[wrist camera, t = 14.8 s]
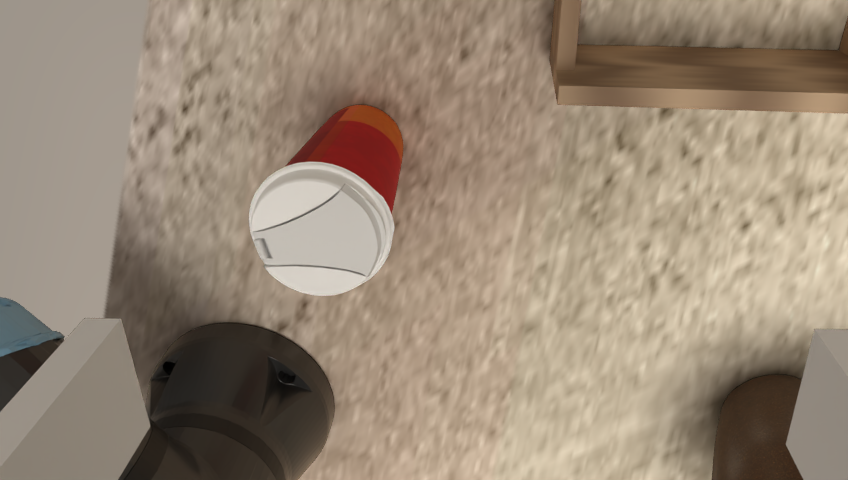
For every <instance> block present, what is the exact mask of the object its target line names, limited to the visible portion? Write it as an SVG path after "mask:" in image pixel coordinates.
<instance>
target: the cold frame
mask: <svg viewBox="0 0 848 480" xmlns="http://www.w3.org/2000/svg"><path fill="white" fill-rule="evenodd" d="M580 10H581V0H554V11H553V24H552V36H551V49H550V65H551V71H552V76H553V82H554V87H555V93H556V99H557V104H558V105H587V106H620V107H653V108H686V109H719V110H752V111H785V112H818V113H848V18H847V22H846V25H845V29H844V33H843V37H842V40H841V44H840V48H839V50H799V49H755V48H711V47H667V46H623V45H579V44H577V41H578V31H579V20H580Z"/></svg>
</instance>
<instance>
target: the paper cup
mask: <svg viewBox="0 0 848 480" xmlns="http://www.w3.org/2000/svg"><path fill="white" fill-rule="evenodd" d="M402 156H403V140H402V135H401V132H400V130H399V128H398V126H397V125H396V123H395V122H394V121H393V119H392V118H391V117H390V116H389V115H387V114H386V113H385V112H383V111H381V110H379V109H377V108H375V107H372V106H367V105H353V106H349V107H346V108H344V109H342V110H340V111H338V112H337V113H335V114H334V115H333V116H332V117H331V118H330V119H329V120H328V121H327V122H326V123H325V124H324V125H323V126H322V127H321V128H320V129H319V130H318V131H317V132H316V133H315V134H314V135H313V136H312V138H311V139H310V140H309V141H308V142H307V143H306V144H305V145H304V146H303V147H302V148H301V150H300V151H299V152H298V153H297V154H296V155H295V156H294V157H293V158H292V159H291V161H290V162H289V163H288V164H287V165H286V166H285V167H283V168H281V169H279V170H277V171H276V172H274V173H273V174H271V175H270V176H269V177H268V178H267V179H266V180H265V181H264V182H263V183H262V184H261V185H260V186H259V188H258V189H257V191H256V192H255V195H254V197H253V199H252V201H251V206H250V210H249V227H250V233H251V236H252V240H253V242H254V245H255V247H256V249H257V252H258V254H259V257H260V259H262V260H263V262H264V264H265V265H264V268H265V269H266V270H267V271H268V272H269V273H270V275H272V276H273V277H274V278H275V279H276V280H278V281H279V282H281V283H282V284H284V285H285V286H287V287H289V288H291V289H293V290H295V291H298V292H301V293H304V294H309V295H316V296H330V295H337V294H341V293H344V292H347V291H350V290H352V289H354V288H355V287H357V286H359V285H361V284H362V283H364V282H366V281H368V280H369V279H370V278H372V277H373V276H374V275H375V274H376V273H377V272H378V271H379V270H380V269H381V267H382V266H383V264H384V263H385V261H386V259H387V257H388V254H389V252H390V249H391V243H392V237H393V233H394V228H395V227H394V222H393V217H392V210H393V205H394V200H395V195H396V190H397V184H398V179H399V174H400V169H401V163H402Z"/></svg>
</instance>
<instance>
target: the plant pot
mask: <svg viewBox="0 0 848 480" xmlns="http://www.w3.org/2000/svg"><path fill="white" fill-rule="evenodd" d="M801 381H802V379H799V378H796V377H793V376H789V375H766V376H761V377H757V378H754V379H751V380H749V381H747V382H745V383H743V384H742V385H740V386H738V387H737V388H736V389H734V390H733V391H732V392H731V393H730V394H729V396H728V397H727V398H726V400H725V402H724V403H723V406H722V409H721V413H720V418H719V423H718V429H717V434H716V441H715V449H714V458H713V471H712V480H803V478H802V476H801V474H800V472H799V470H798V468H797V466H796V464H795V462H794V460H793V458H792V456H791V454H790V452H789V450H788V448H787V446H786V441H787V437H788V433H789V429H790V425H791V421H792V417H793V413H794V409H795V405H796V401H797V397H798V393H799V389H800V385H801Z"/></svg>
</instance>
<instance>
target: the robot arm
mask: <svg viewBox="0 0 848 480" xmlns="http://www.w3.org/2000/svg"><path fill="white" fill-rule="evenodd" d="M333 417H334V399H333V394H332V391H331V388H330V385H329V383H328V381H327V379H326V377H325V375H324V373H323V372H322V370H321V369H320V368H319V366H318V365H317V364H316V363H315V361H314V360H313V359H312V358H311V357H310V356H309V355H308V354H307V353H306V352H304V351H303V350H302V349H301V348H299V347H298V346H297V345H295V344H294V343H292V342H291V341H289V340H287V339H285V338H284V337H282V336H280V335H278V334H275V333H273V332H271V331H268V330H265V329H262V328H258V327H255V326H250V325H244V324H235V323H222V324H213V325H207V326H203V327H200V328H197V329H195V330H192V331H190V332H188V333H186V334H184V335H183V336H181V337H180V338H179V339H177V340H176V341H175V342H174V343H173V344H172V345H171V346H170V347H169V349H168V350H167V352H166V353H165V354H164V356H163V357H162V359H161V360H160V362H159V363H158V365H157V366H156V368H155V370H154V372H153V374H152V377H151V379H150V383H149V387H148V393H147V398H146V404H144V400H143V397H142V393H141V389H140V386H139V382H138V378H137V375H136V371H135V367H134V364H133V360H132V356H131V353H130V349H129V345H128V342H127V338H126V334H125V331H124V327H123V323H122V320H121V319H109V318H84V319H83V320H82V321H81V322H80V324H79V325H78V326H77V327H76V328H75V329H74V330H73V332H72V333H71V334H70V335H69V336H68V337H67V338H66V339H65V340H64V336H63V335H62V334H61V333H60V332H57V331H52V330H51V329H50V328H48V327H47V326H46V325H45V324H43V323H42V322H41V321H40V320H38V319H37V318H36V317H35V316H33V315H32V314H31V313H30V312H29V311H27V310H26V309H25V308H24V307H22V306H21V305H20V304H18V303H17V302H15V301H13V300H10V299H7V298H1V297H0V480H298V479H299V478H300V477H301V475H302V474H303V473H304V472H305V471H306V470H307V468H308V467H309V466H310V465H311V464H312V463H313V461H314V460H315V459H316V458H317V457H318V455H319V454H320V452H321V451H322V449H323V447H324V445H325V443H326V440H327V438H328V434H329V431H330V428H331V425H332V421H333ZM786 446H787V448H788V450H789V452H790V454H791V456H792V458H793V460H794V462H795V464H796V466H797V468H798V470H799V472H800V474H801V476H802V478H803V480H848V329H814V333H813V337H812V341H811V345H810V349H809V353H808V357H807V361H806V365H805V369H804V373H803V377H802V381H801V385H800V389H799V393H798V397H797V401H796V405H795V409H794V413H793V417H792V421H791V425H790V429H789V433H788V437H787V441H786Z"/></svg>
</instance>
